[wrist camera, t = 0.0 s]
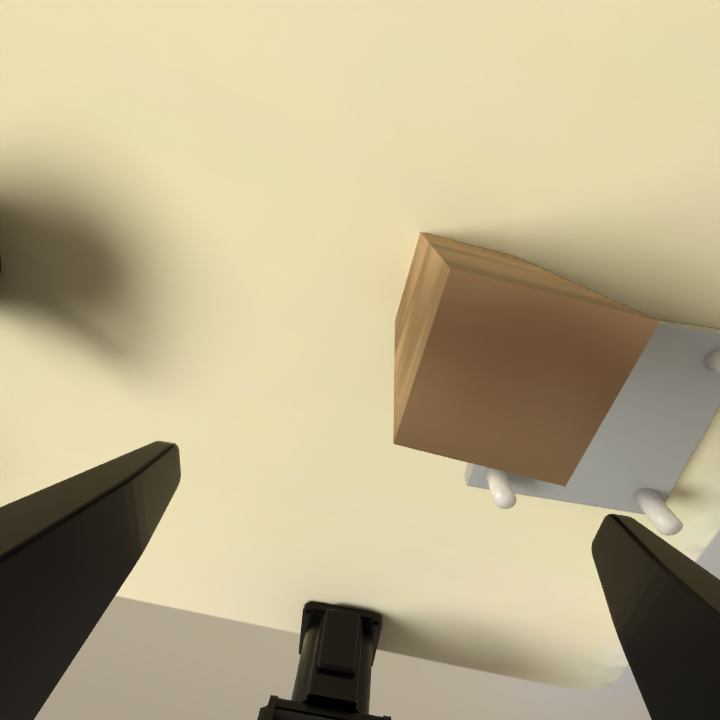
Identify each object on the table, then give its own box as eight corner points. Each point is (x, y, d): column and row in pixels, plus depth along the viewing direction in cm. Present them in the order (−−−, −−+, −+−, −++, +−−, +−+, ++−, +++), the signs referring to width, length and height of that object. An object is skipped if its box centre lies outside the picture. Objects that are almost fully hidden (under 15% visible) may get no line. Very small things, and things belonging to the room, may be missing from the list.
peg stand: (647, 504, 25) (684, 549, 22) (464, 475, 25) (474, 515, 22) (741, 332, 20) (807, 356, 17) (515, 299, 21) (537, 317, 17)
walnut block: (479, 343, 22) (565, 486, 11) (395, 321, 22) (393, 443, 11) (513, 255, 20) (660, 321, 9) (420, 232, 20) (450, 268, 9)
